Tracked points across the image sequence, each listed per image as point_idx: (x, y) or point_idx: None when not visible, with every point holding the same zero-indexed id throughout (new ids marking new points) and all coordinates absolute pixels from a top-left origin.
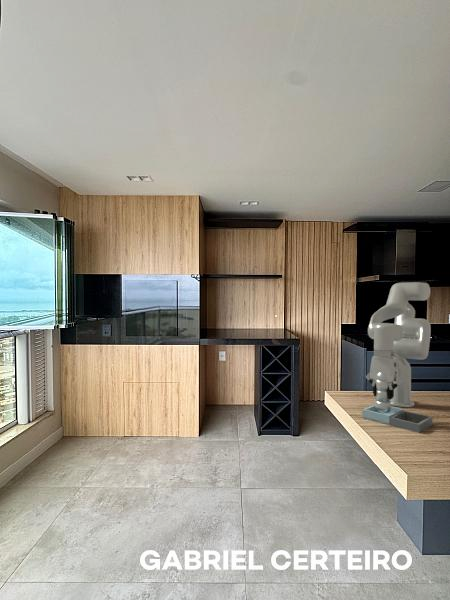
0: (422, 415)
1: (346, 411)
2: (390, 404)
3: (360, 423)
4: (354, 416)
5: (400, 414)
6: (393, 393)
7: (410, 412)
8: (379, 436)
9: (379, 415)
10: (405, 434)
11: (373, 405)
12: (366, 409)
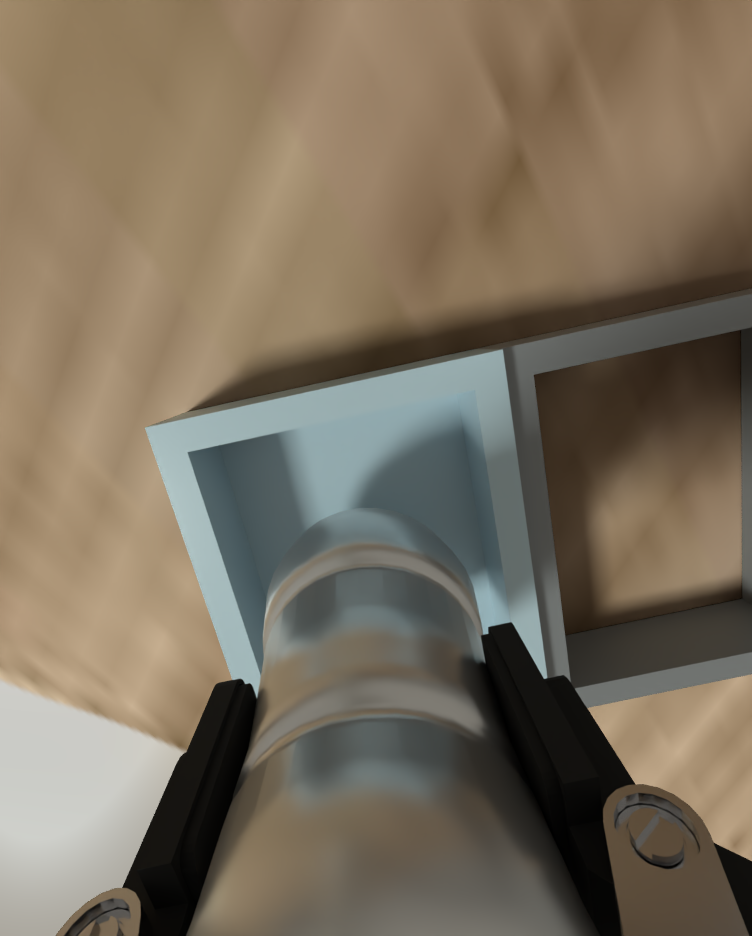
0: (743, 328)
1: (71, 696)
2: (480, 621)
3: None
4: None
5: (546, 508)
6: (594, 732)
7: (597, 352)
8: None
9: None
10: (705, 724)
11: (202, 561)
12: None
